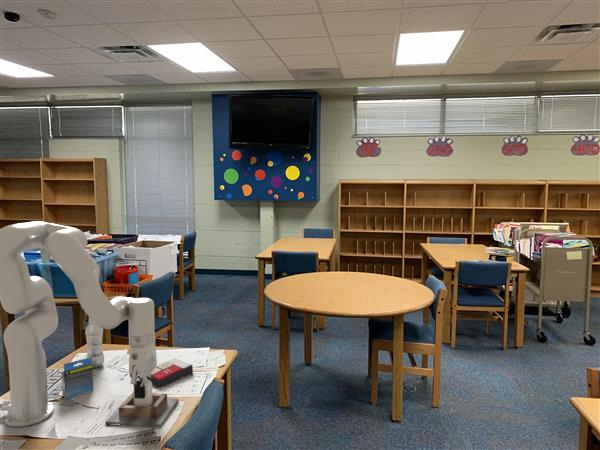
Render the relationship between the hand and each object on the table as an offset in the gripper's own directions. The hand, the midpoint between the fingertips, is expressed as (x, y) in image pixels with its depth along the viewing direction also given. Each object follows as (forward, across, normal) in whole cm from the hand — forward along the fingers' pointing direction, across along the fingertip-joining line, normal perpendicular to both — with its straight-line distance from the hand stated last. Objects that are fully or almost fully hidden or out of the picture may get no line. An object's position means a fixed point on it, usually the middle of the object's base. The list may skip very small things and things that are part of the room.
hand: (142, 393), depth 130 cm
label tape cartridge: (+7, +10, +28) cm, 30 cm away
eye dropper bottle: (+4, 0, 0) cm, 4 cm away
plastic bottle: (+6, +31, +34) cm, 46 cm away
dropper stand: (+6, 0, 0) cm, 6 cm away
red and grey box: (+7, +25, +2) cm, 26 cm away
